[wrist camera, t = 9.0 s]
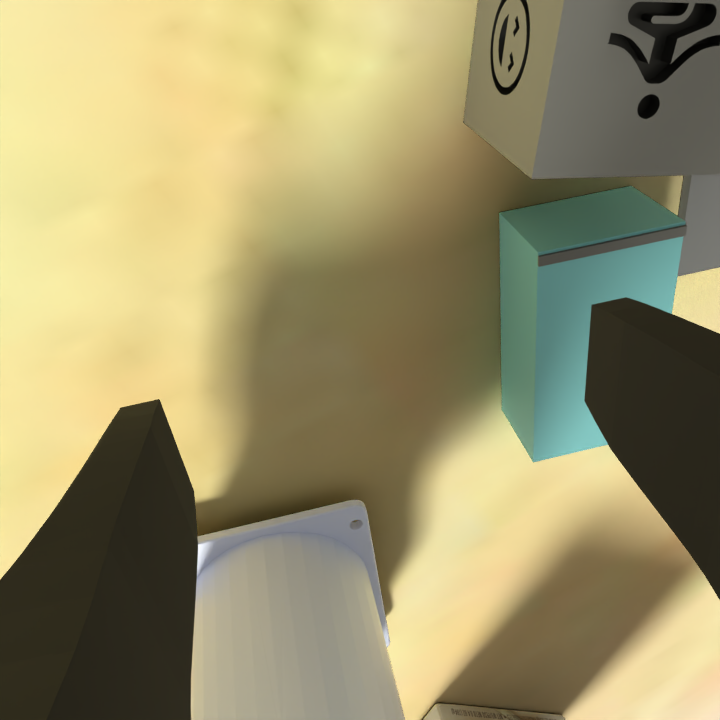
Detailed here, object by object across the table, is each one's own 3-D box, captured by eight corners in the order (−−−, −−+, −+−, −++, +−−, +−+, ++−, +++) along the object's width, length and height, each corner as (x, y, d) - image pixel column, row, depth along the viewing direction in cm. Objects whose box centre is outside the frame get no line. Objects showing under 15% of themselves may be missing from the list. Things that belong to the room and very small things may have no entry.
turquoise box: (613, 383, 27) (657, 434, 24) (501, 409, 26) (534, 464, 24) (634, 185, 22) (691, 222, 19) (498, 212, 22) (539, 253, 19)
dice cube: (667, -75, 18) (805, -68, 14) (619, 120, 21) (723, 174, 17) (487, -84, 17) (579, -80, 13) (462, 121, 20) (531, 178, 16)
